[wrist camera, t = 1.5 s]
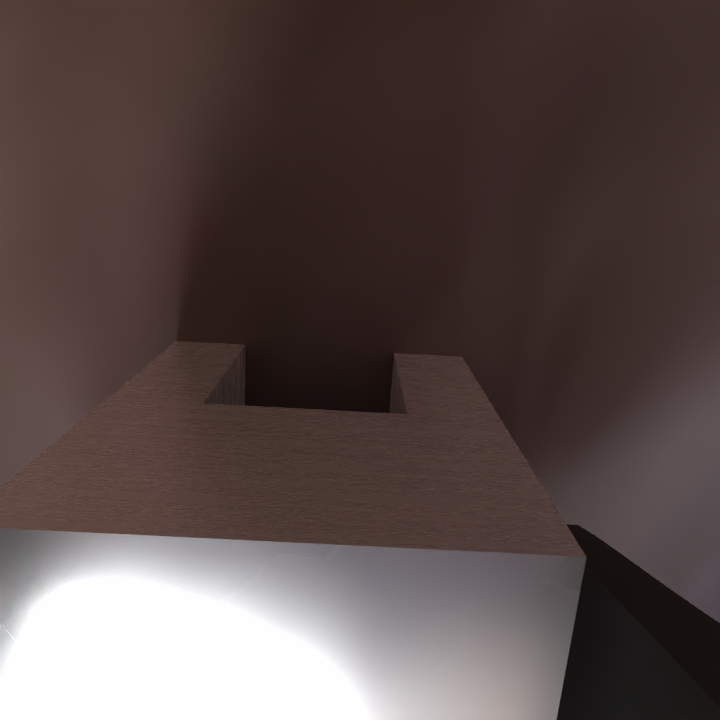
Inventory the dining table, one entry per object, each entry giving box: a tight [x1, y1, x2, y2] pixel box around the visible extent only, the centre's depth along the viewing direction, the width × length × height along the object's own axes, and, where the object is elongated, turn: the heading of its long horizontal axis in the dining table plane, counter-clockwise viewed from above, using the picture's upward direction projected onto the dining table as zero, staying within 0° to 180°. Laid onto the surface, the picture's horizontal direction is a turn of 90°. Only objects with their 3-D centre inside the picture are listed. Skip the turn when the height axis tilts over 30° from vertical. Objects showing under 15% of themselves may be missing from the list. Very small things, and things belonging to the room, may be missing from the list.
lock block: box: [0, 341, 586, 720], centre depth 8 cm, size 6×5×6 cm
